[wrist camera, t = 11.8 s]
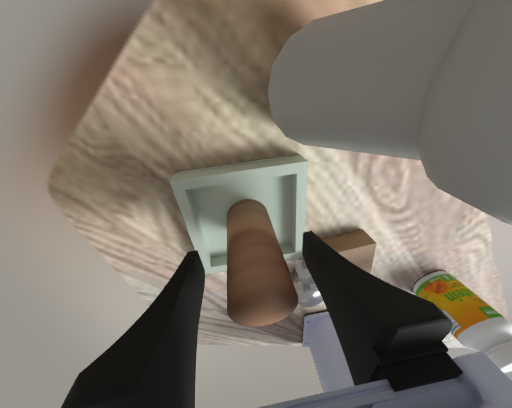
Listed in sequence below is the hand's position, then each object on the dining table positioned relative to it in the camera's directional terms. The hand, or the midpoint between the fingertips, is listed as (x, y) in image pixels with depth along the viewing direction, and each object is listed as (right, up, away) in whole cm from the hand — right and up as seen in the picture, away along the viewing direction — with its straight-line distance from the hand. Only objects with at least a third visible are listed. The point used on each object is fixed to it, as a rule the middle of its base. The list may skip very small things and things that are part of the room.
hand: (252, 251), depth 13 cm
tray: (-1, +2, +4) cm, 5 cm away
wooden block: (+10, -3, +9) cm, 14 cm away
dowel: (0, +2, +3) cm, 4 cm away
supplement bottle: (+26, -8, +15) cm, 31 cm away
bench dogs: (+6, -4, +9) cm, 11 cm away
